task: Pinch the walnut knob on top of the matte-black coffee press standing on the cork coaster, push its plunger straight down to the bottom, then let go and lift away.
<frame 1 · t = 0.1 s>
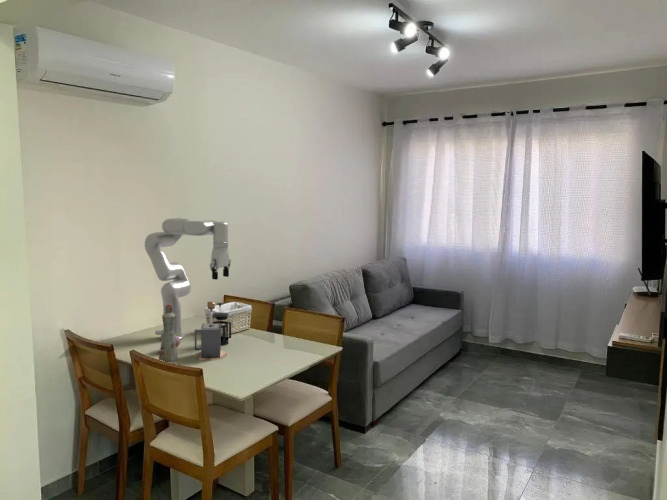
hand: (220, 277, 265), 37 cm above the table, tool pointing down, fingers open, 9 cm apart
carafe: (211, 355, 254), resting on coaster
decorative fruit: (170, 351, 261), on the table
plunger: (211, 321, 252), point 18 cm above the table, slide at 0.0 cm
french press: (220, 345, 273), on the table
storage basket: (228, 331, 301), on the table
coaster: (211, 356, 254), on the table
bottle: (168, 360, 247), on the table
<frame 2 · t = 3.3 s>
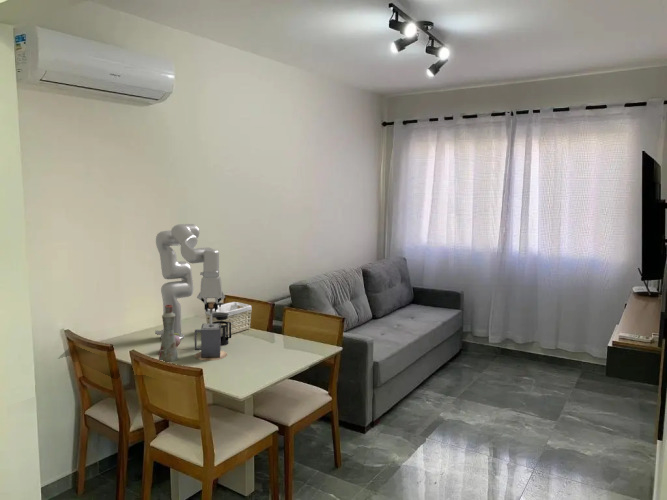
hand: (211, 310, 251), 24 cm above the table, tool pointing down, fingers closed on plunger, 3 cm apart
plunger: (211, 321, 252), point 18 cm above the table, slide at 0.0 cm, touching gripper
everything else where it was.
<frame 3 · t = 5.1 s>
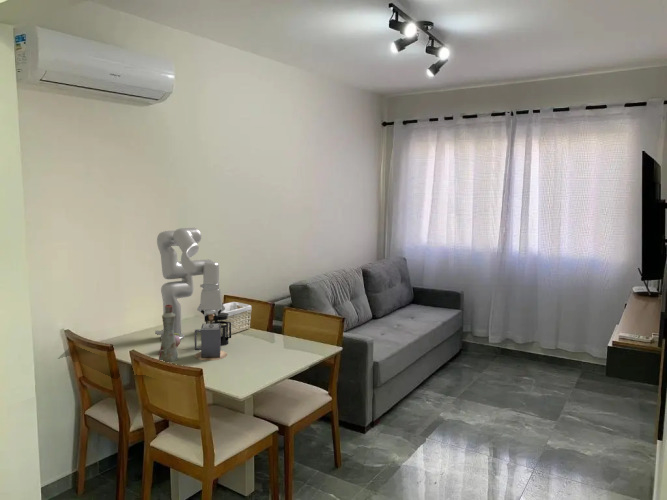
hand: (211, 322, 252), 17 cm above the table, tool pointing down, fingers closed on plunger, 3 cm apart
plunger: (211, 333, 253), point 12 cm above the table, slide at 6.1 cm, touching gripper
everything else where it was.
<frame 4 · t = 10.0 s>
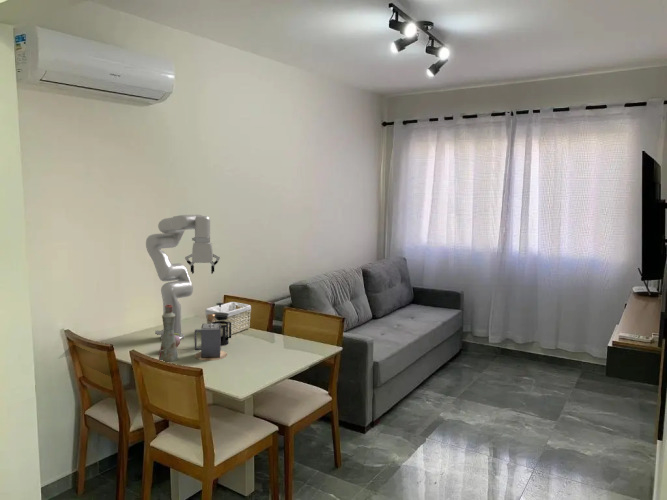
hand: (202, 273, 260), 40 cm above the table, tool pointing down, fingers open, 9 cm apart
plunger: (211, 333, 253), point 12 cm above the table, slide at 6.2 cm
at the end: plunger slide at 6.2 cm; the gripper is holding nothing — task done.
